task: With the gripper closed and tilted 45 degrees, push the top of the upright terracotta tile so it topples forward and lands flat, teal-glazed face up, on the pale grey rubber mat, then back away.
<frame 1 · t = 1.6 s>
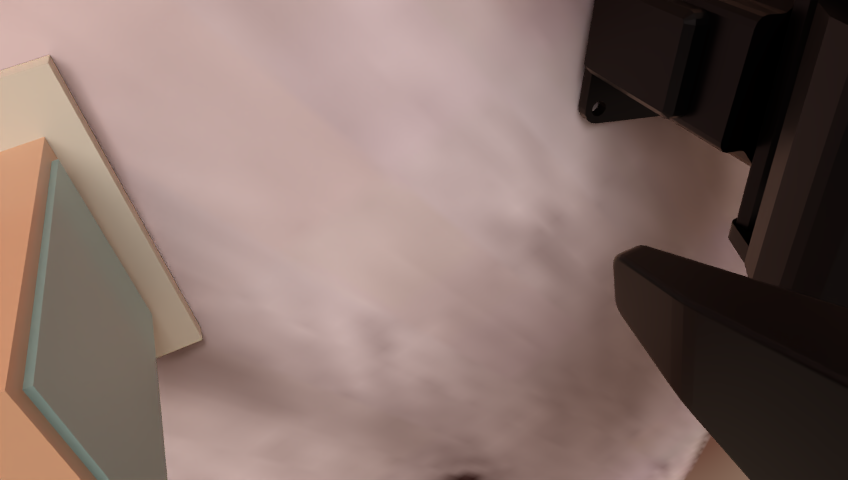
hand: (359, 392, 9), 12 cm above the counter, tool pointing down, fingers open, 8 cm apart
tile: (61, 249, 19), point 1 cm above the counter, touching mat
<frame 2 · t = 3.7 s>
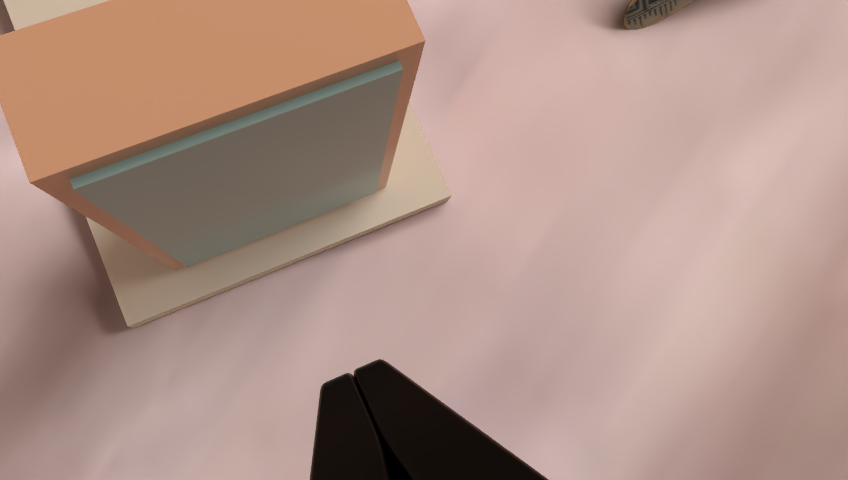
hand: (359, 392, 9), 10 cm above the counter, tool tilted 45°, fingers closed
mat: (218, 69, 20), on the counter
tile: (268, 190, 19), point 1 cm above the counter, touching mat
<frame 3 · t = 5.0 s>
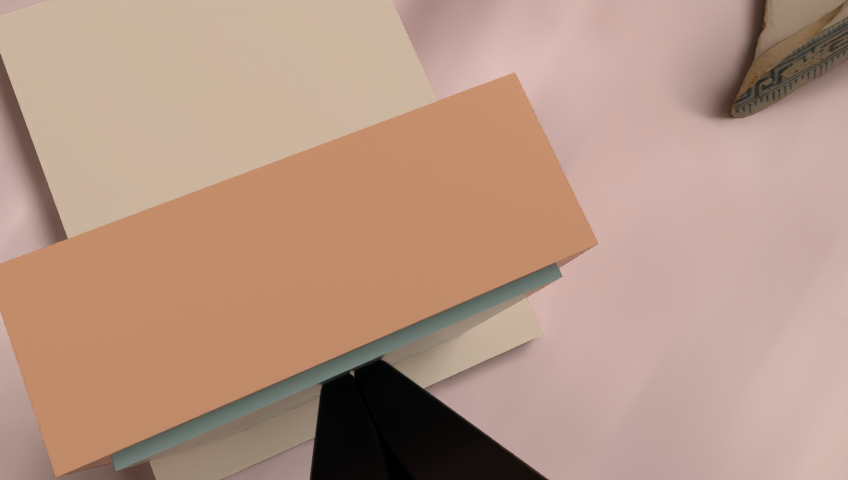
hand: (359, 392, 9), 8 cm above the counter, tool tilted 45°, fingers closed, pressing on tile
mat: (268, 183, 17), on the counter
tile: (330, 332, 16), point 1 cm above the counter, touching gripper, mat
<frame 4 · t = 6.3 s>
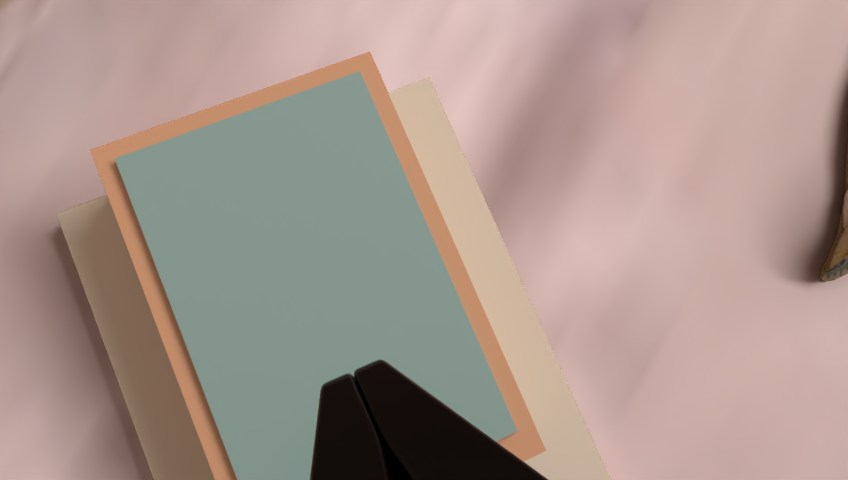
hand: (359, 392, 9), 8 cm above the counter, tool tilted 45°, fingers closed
mat: (349, 379, 17), on the counter
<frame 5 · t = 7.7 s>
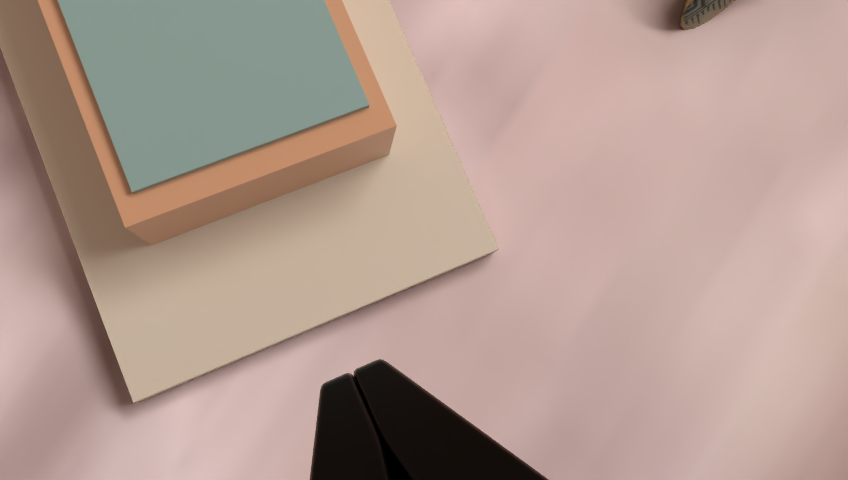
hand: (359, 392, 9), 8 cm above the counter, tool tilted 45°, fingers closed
mat: (235, 103, 18), on the counter
tile: (270, 187, 16), point 2 cm above the counter, tilted 90°, touching mat
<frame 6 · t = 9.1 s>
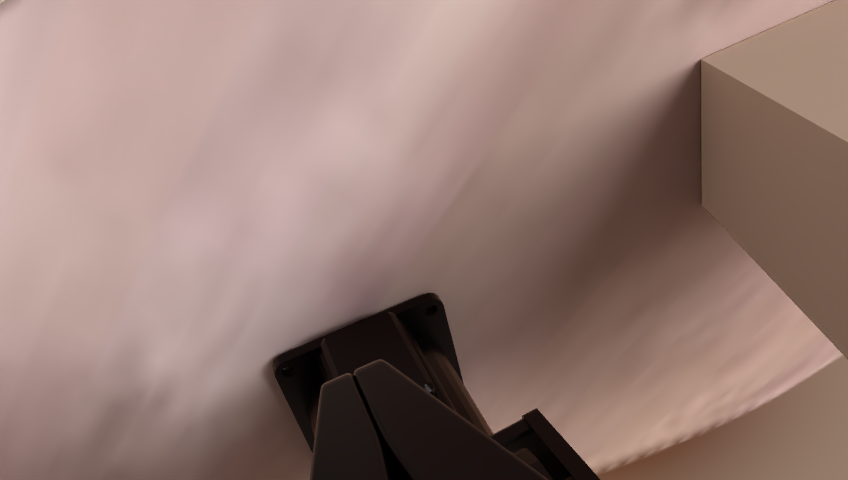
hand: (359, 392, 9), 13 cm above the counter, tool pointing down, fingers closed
soap bottle: (787, 75, 28), on the counter
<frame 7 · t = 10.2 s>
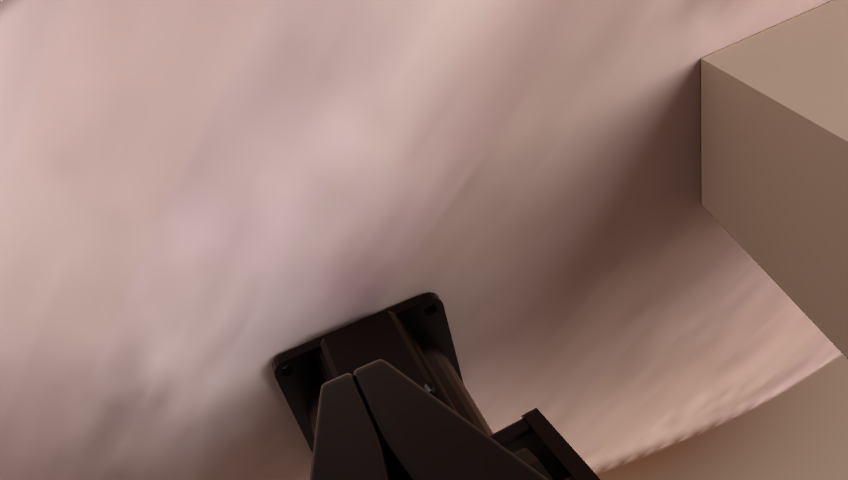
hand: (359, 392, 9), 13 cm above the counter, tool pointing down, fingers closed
soap bottle: (787, 74, 28), on the counter
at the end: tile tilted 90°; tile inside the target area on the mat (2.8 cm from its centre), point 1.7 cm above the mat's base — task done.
